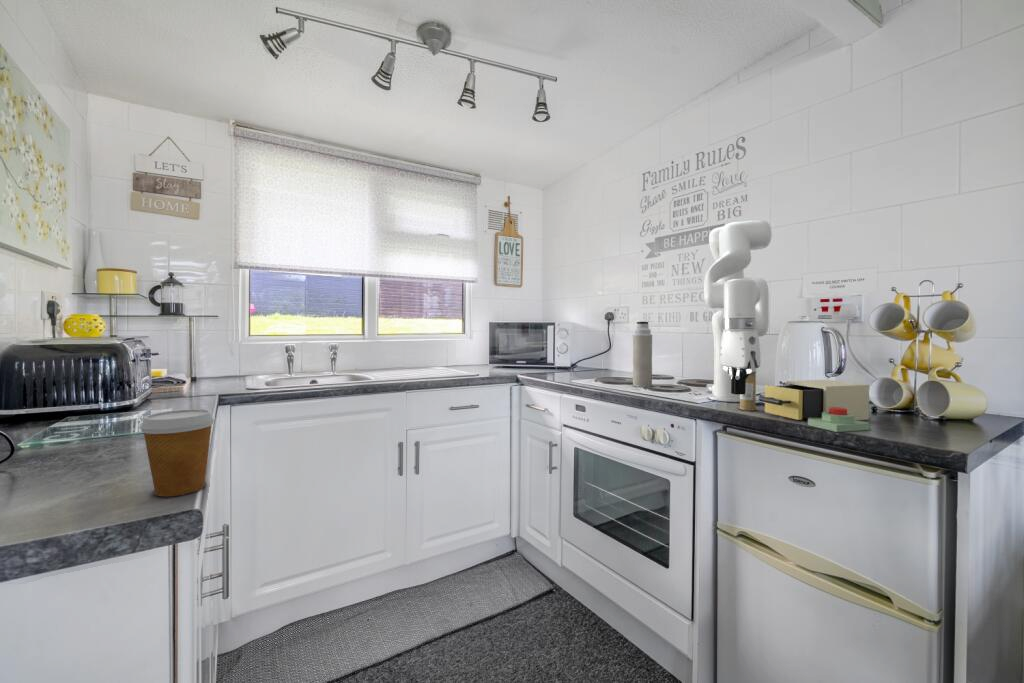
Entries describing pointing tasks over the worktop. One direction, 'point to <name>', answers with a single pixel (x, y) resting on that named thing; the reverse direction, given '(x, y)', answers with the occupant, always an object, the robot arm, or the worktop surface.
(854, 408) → the drawer cabinet
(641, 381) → the thermos bottle
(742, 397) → the sprinkles bottle
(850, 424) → the control block
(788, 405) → the yellow drawer
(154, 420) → the disposable coffee cup
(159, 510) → the worktop surface
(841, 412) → the button
